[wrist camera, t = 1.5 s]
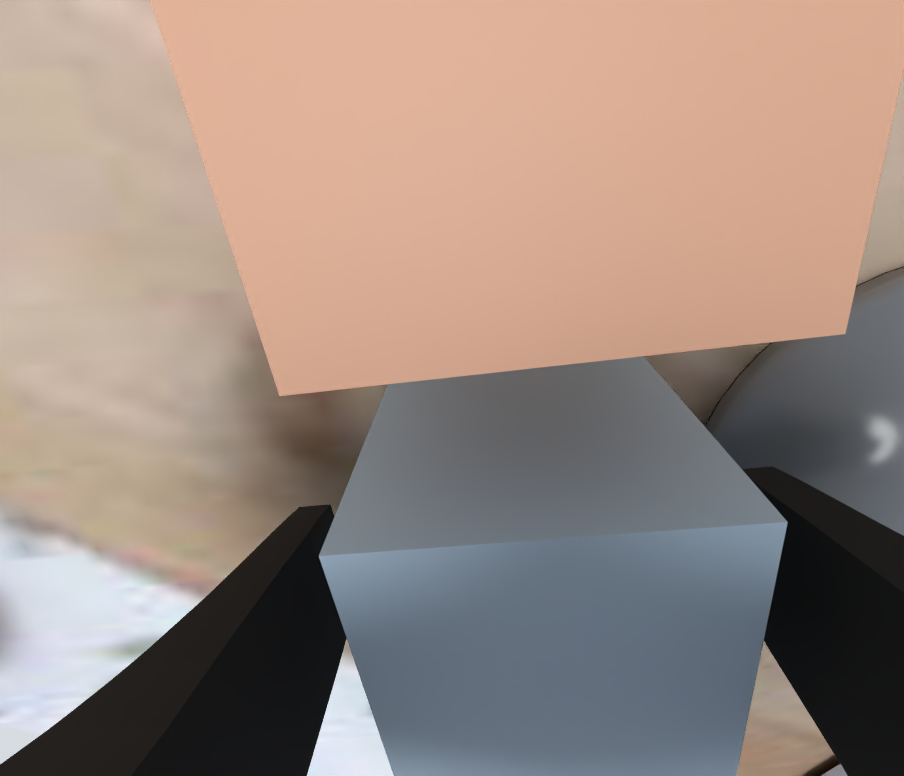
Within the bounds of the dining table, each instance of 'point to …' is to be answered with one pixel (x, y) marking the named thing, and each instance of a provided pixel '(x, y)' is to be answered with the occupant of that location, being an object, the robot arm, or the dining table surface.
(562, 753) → the blue cube
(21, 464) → the dining table surface
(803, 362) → the slate coaster
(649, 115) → the terracotta cube
